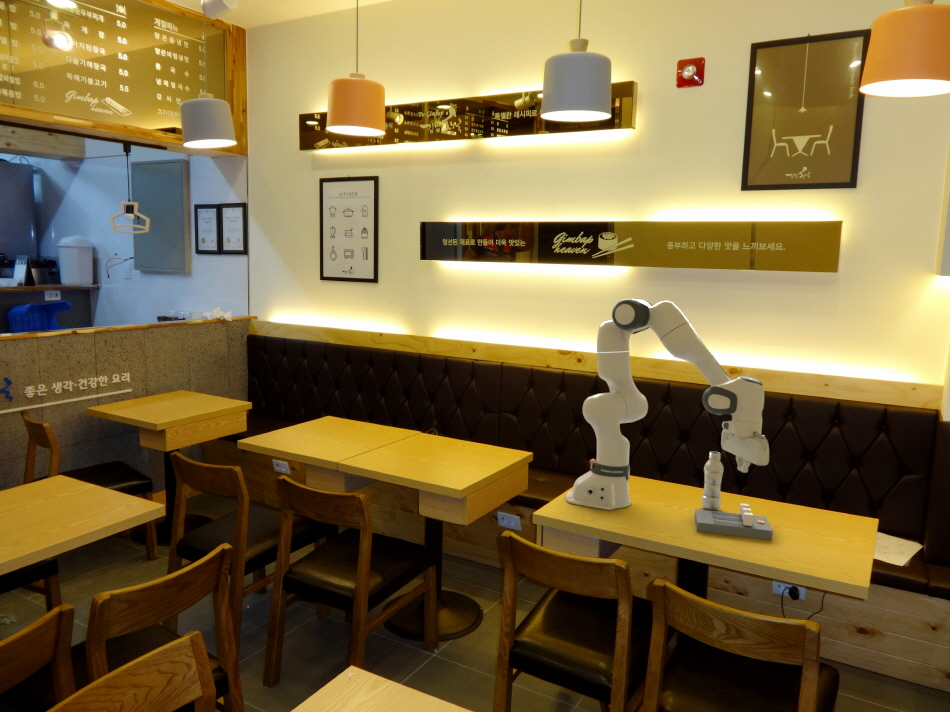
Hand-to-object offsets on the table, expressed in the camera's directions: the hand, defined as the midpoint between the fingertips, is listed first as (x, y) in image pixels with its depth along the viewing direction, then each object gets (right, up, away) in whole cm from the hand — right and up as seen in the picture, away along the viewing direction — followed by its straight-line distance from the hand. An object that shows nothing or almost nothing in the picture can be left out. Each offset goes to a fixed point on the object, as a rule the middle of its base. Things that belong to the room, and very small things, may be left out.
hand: (742, 471), depth 221 cm
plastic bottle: (-3, -17, +21) cm, 27 cm away
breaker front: (0, -16, -3) cm, 16 cm away
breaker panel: (-2, -19, +2) cm, 19 cm away
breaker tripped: (+2, -16, +1) cm, 16 cm away
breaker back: (+3, -15, +5) cm, 16 cm away
